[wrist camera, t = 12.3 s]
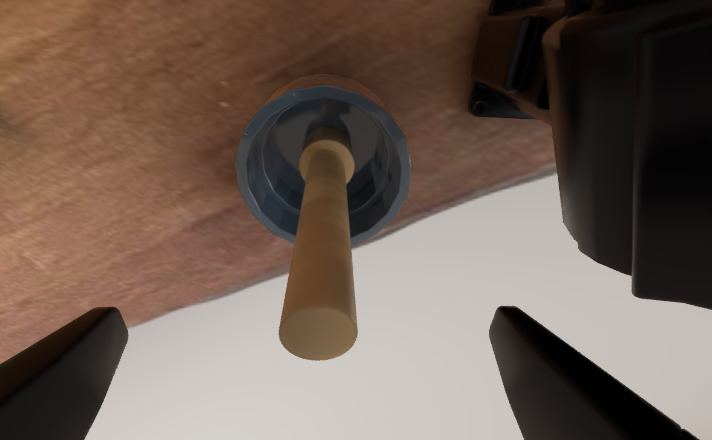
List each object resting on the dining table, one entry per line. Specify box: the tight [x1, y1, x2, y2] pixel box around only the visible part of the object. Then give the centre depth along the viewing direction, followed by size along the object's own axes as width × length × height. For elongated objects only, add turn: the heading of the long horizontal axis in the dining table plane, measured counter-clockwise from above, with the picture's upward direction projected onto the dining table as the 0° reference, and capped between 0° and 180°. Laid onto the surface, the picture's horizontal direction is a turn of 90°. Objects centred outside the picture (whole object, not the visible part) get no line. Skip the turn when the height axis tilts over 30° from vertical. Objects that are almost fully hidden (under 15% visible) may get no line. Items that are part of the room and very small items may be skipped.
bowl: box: [235, 73, 412, 246], centre depth 17 cm, size 8×8×4 cm
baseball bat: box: [279, 126, 358, 360], centre depth 13 cm, size 3×3×13 cm
